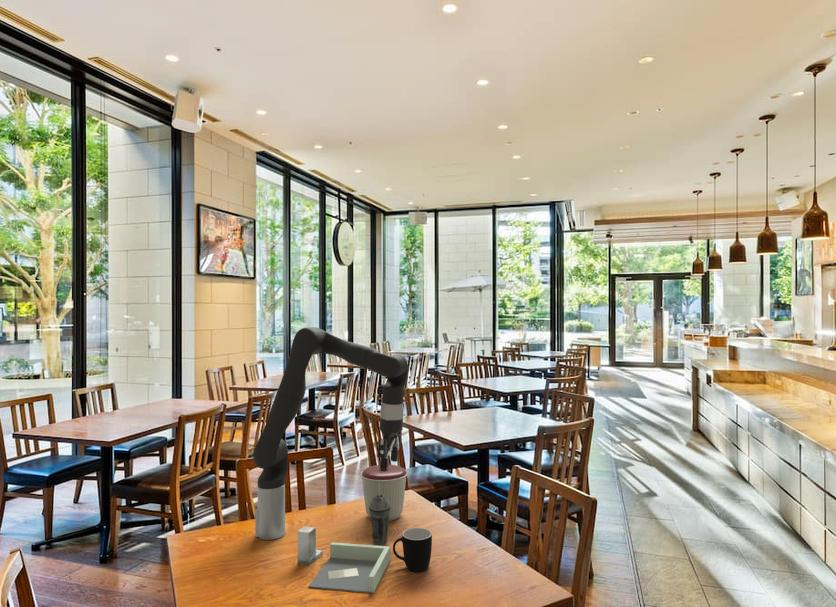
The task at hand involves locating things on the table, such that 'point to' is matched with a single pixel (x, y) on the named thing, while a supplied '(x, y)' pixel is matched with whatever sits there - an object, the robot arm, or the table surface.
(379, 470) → the canister
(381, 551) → the corner walls
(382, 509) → the beverage cup
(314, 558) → the bracket
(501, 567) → the table surface
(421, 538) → the mug
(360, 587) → the mat
